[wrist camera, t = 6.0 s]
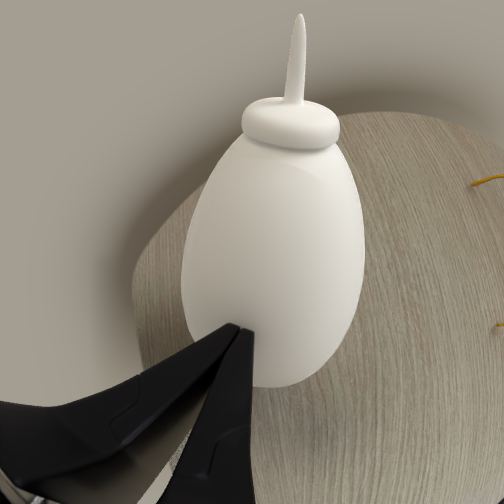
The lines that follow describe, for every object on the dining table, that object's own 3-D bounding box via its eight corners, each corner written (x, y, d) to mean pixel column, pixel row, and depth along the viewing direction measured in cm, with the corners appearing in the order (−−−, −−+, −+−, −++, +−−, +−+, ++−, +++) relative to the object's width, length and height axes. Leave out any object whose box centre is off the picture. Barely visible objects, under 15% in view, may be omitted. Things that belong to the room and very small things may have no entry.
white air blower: (184, 378, 16) (48, 43, 3) (230, 289, 21) (223, 19, 8) (299, 420, 14) (549, 92, 1) (328, 320, 19) (424, 51, 6)
